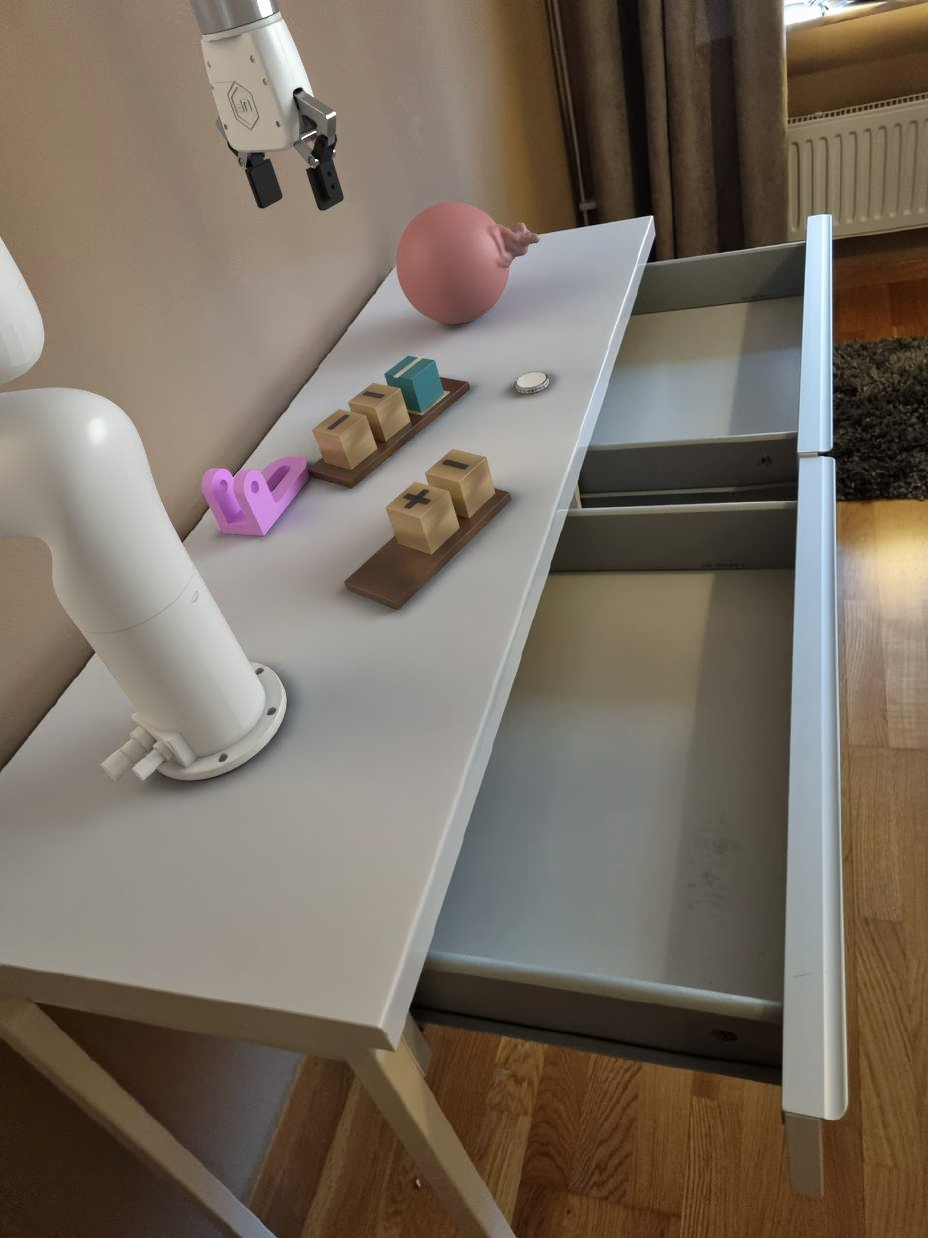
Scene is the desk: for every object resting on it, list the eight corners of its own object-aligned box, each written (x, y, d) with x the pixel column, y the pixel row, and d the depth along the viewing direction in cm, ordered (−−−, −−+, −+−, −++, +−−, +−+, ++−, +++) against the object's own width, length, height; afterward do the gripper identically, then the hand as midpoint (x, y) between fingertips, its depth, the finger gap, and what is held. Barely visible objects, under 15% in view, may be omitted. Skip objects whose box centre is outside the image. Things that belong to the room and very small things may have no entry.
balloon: (539, 335, 116) (518, 215, 106) (399, 349, 123) (366, 237, 112) (560, 283, 126) (542, 170, 116) (429, 298, 133) (402, 192, 123)
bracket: (264, 535, 96) (239, 483, 92) (223, 533, 98) (196, 481, 94) (318, 466, 104) (298, 414, 100) (279, 465, 107) (257, 415, 102)
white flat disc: (553, 376, 107) (552, 371, 107) (541, 393, 105) (540, 388, 104) (523, 375, 109) (522, 370, 108) (510, 392, 106) (509, 387, 106)
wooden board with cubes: (398, 610, 82) (381, 564, 78) (346, 589, 86) (327, 544, 82) (511, 499, 91) (500, 453, 87) (459, 485, 95) (447, 441, 91)
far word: (351, 488, 99) (335, 446, 95) (310, 476, 103) (293, 434, 100) (470, 388, 110) (460, 347, 106) (428, 381, 114) (417, 340, 110)
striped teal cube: (419, 413, 106) (408, 379, 103) (392, 408, 108) (381, 374, 105) (446, 391, 108) (436, 357, 105) (419, 386, 111) (409, 352, 108)
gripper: (152, 31, 84) (224, 216, 95) (265, 11, 74) (330, 221, 85) (212, 9, 88) (274, 189, 99) (328, -13, 77) (382, 191, 88)
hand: (300, 204), depth 92 cm, fingers open, 9 cm apart
